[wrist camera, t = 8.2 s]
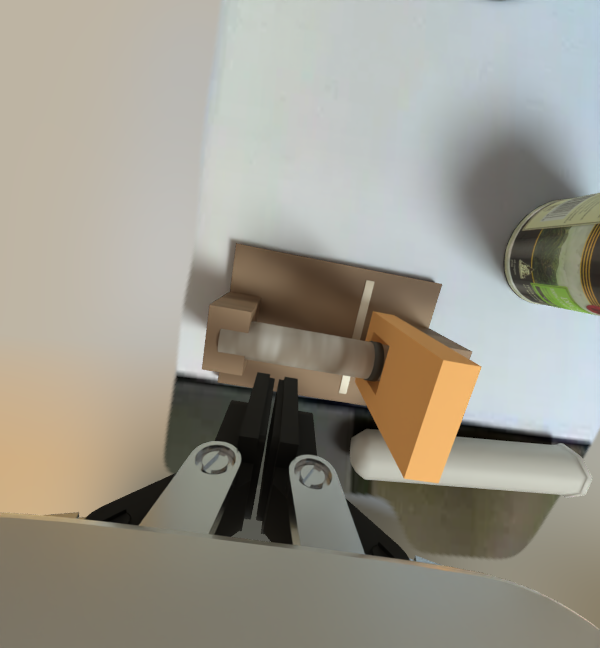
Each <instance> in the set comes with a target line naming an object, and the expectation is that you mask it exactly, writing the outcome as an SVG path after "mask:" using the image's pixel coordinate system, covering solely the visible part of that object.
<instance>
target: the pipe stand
mask: <svg viewBox="0 0 600 648" xmlns="http://www.w3.org/2000/svg"><path fill="white" fill-rule="evenodd" d="M441 286H442V284H439V283H434V282H429V281H424V280H419V279H414V278H409V277H404V276H399V275H393V274H388V273H383V272H378V271H373V270H368V269H363V268H358V267H353V266H348V265H343V264H338V263H333V262H328V261H323V260H318V259H313V258H308V257H303V256H298V255H292V254H287V253H282V252H277V251H272V250H267V249H262V248H257V247H252V246H247V245H242V244H237V243H236V249H235V257H234V264H233V271H232V279H231V286H230V292H229V293H227V294H225V295H224V296H222V297H221V298H219V299H218V300H216V301H215V302H213V303H211V304H210V305H209V313H208V322H207V330H206V339H205V347H204V356H203V364H202V369H203V370H209V371H215V372H219V376H218V382H219V383H226V384H232V385H238V386H245V387H251V388H253V386H254V382H255V379H256V375H257V372H260V373H266V374H270V378H275V382H274V388H273V391H276V392H277V387H278V382H279V379H281V380H284V377H290V378H296V379H298V395H302V396H308V397H315V398H321V399H327V400H334V401H340V402H346V403H353V404H359V405H365V406H367V405H366V403H365V401H364V399H363V397H362V395H361V393H360V391H359V389H358V387H357V385H356V383H355V378H362V379H364V380H367V381H373V382H375V381H380V378H381V375H382V371H383V368H384V364H385V361H386V357H387V353H388V350H389V345H385V344H381V343H380V342H375V341H369V342H368V341H365V340H366V336H367V332H368V328H369V324H370V320H371V317H372V313H373V311H374V312H380V313H385V314H391V315H395V316H396V317H398V318H400V319H401V320H403V321H405V322H407V323H408V324H410V325H412V326H413V327H415V328H417V329H418V330H420V331H422V332H423V333H425V334H427V335H428V336H430V337H432V338H434V339H435V340H437V341H439V342H440V343H442V344H444V345H445V346H447V347H449V348H450V349H452V350H454V351H456V352H457V353H459V354H461V355H462V356H464V357H466V358H467V359H470V357H471V354H472V351H470V350H468V349H466V348H464V347H462V346H461V345H459V344H457V343H455V342H453V341H451V340H449V339H448V338H446V337H444V336H442V335H440V334H438V333H436V332H435V331H433V330H431V329H429V325H430V322H431V319H432V315H433V312H434V309H435V306H436V303H437V299H438V296H439V293H440V290H441Z"/></svg>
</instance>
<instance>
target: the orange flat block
mask: <svg viewBox="0 0 600 648" xmlns="http://www.w3.org/2000/svg"><path fill="white" fill-rule="evenodd" d="M365 341H368V342H369V341H375V342H380V343H381V344H385V345H389V350H388V353H387V357H386V361H385V364H384V368H383V371H382V375H381V378H380V381H375V382H373V381H367V380H364V379H362V378H355V383H356V385H357V387H358V389H359V391H360V393H361V395H362V397H363V399H364V401H365V403H366V405H367V407H368V409H369V411H370V413H371V415H372V417H373V419H374V421H375V423H376V425H377V427H378V429H379V430H380V432H381V434H382V436H383V438H384V440H385V442H386V444H387V446H388V448H389V450H390V452H391V454H392V456H393V458H394V460H395V462H396V464H397V466H398V468H399V470H400V472H401V474H402V476H403V478H404V479H410V480H417V481H424V482H431V483H439V481H440V478H441V475H442V473H443V470H444V467H445V465H446V462H447V459H448V456H449V454H450V451H451V448H452V446H453V443H454V440H455V437H456V435H457V432H458V429H459V427H460V424H461V421H462V418H463V416H464V413H465V410H466V408H467V405H468V402H469V399H470V397H471V394H472V391H473V389H474V386H475V383H476V380H477V378H478V375H479V372H480V370H481V366H479V365H478V364H476V363H474V362H472V361H471V360H469V359H467V358H466V357H464V356H462V355H461V354H459V353H457V352H456V351H454V350H452V349H450V348H449V347H447V346H445V345H444V344H442V343H440V342H439V341H437V340H435V339H434V338H432V337H430V336H428V335H427V334H425V333H423V332H422V331H420V330H418V329H417V328H415V327H413V326H412V325H410V324H408V323H407V322H405V321H403V320H401V319H400V318H398V317H396V316H395V315H391V314H385V313H380V312H374V311H373V313H372V317H371V320H370V324H369V328H368V332H367V336H366V340H365Z"/></svg>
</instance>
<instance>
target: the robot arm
mask: <svg viewBox="0 0 600 648" xmlns="http://www.w3.org/2000/svg"><path fill="white" fill-rule="evenodd" d="M274 382H275V378H270V374H266V373H260V372H257V375H256V379H255V382H254V386H253V389H252V392H251V396H250V399H249V403H246V402H240V401H234V400H232V401H231V402H230V405H229V407H228V410H227V412H226V415H225V417H224V420H223V422H222V425H221V427H220V429H219V432H218V434H217V437H216V439H215V441H212V442H208V443H204V444H202V445H200V446H198V447H197V448H196V449H195V450H194V451H193V452H192V453H191V454H190V456H189V457H188V458H187V460H186V461H185V462H184V464H183V465H182V467H181V468H180V469H179V471H178V472H177V473H175V474H173V475H170V476H168V477H166V478H164V479H162V480H160V481H157V482H155V483H153V484H151V485H148V486H146V487H144V488H142V489H140V490H137V491H135V492H133V493H131V494H129V495H126V496H124V497H122V498H120V499H118V500H115V501H113V502H111V503H109V504H107V505H104V506H102V507H101V508H99V509H97V510H95V511H94V512H92V513H91V514H89V515H88V516H87V517H81V518H79V512H77V513H64V514H51V515H32V514H18V513H0V648H600V630H599V629H598V628H597V627H596V626H595V625H593V624H592V623H591V622H589V621H588V620H586V619H585V618H583V617H582V616H580V615H579V614H577V613H576V612H574V611H573V610H571V609H569V608H568V607H566V606H564V605H563V604H561V603H559V602H557V601H555V600H553V599H551V598H549V597H547V596H545V595H543V594H541V593H539V592H537V591H535V590H533V589H531V588H528V587H525V586H523V585H520V584H517V583H515V582H512V581H510V580H506V579H503V578H499V577H495V576H492V575H488V574H484V573H480V572H475V571H469V570H464V569H458V568H454V567H448V566H442V565H440V564H437V563H434V562H431V561H428V560H426V559H423V558H420V557H418V556H415V558H414V560H412V559H409V558H408V556H407V554H406V553H405V552H404V551H403V550H402V549H401V547H399V545H398V544H396V543H395V542H394V541H393V540H392V539H391V538H390V537H388V536H387V535H386V534H385V533H384V532H383V531H382V530H381V529H380V528H378V527H377V526H376V525H375V524H374V523H373V522H372V521H371V520H369V519H368V518H367V517H366V516H365V515H364V514H363V513H361V512H360V511H359V510H358V509H357V508H356V507H355V506H354V505H352V504H351V503H350V502H349V501H348V500H347V499H346V498H345V496H344V493H343V490H342V488H341V485H340V482H339V479H338V476H337V473H336V472H335V470H334V468H333V467H332V466H331V465H330V463H329V462H327V461H326V460H324V459H323V458H320V457H318V456H317V452H316V442H315V432H314V422H313V414H312V413H308V412H302V411H298V379H296V378H290V377H284V380H281V379H279V382H278V387H277V392H276V397H275V403H274V408H273V413H272V418H271V424H270V429H269V434H268V440H267V447H266V454H265V461H264V468H263V475H262V482H261V489H260V496H259V503H258V510H257V517H256V520H258V521H262V529H261V534H265V535H266V536H267V537H268V539H270V541H271V542H267V541H266V542H265V541H259V540H251V539H242V538H235V537H231V536H233V535H234V534H235V533H237V532H238V531H242V526H243V521H244V519H251V515H252V510H253V505H254V499H255V494H256V489H257V484H258V478H259V473H260V468H261V462H262V457H263V452H264V446H265V441H266V435H267V428H268V421H269V415H270V408H271V401H272V395H273V388H274Z"/></svg>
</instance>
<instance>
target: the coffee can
mask: <svg viewBox="0 0 600 648" xmlns="http://www.w3.org/2000/svg"><path fill="white" fill-rule="evenodd" d="M504 267H505V274H506V278H507V280H508V283H509V285H510V286H511V288H512V289H513V291H514V292H515V293H516V294H517V295H518V296H519V297H521V298H522V299H524V300H526V301H528V302H531V303H534V304H542V305H548V306H553V307H558V308H564V309H569V310H574V311H579V312H584V313H588V314H593V315H598V316H600V193H596V194H591V195H586V196H581V197H576V198H571V199H562V200H555V201H551V202H549V203H546V204H544V205H542V206H540V207H538V208H537V209H535V210H534V211H532V212H531V213H530V214H529V215H527V216H526V217H525V218H524V219H523V220H522V221H521V223H520V224H519V225H518V226H517V228H516V229H515V230H514V232H513V234H512V236H511V238H510V240H509V243H508V245H507V248H506V253H505V261H504Z"/></svg>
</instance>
